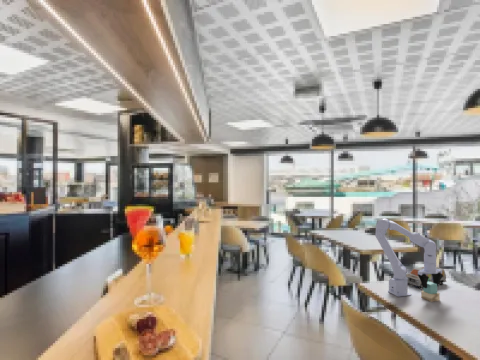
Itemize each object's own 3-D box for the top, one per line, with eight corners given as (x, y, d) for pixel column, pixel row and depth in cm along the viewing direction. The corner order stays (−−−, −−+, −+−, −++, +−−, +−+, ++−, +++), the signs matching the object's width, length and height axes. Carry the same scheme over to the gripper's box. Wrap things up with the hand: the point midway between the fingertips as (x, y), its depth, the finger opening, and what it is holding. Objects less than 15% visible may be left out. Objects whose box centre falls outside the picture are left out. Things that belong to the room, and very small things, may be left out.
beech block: (431, 302, 154) (431, 294, 154) (421, 298, 160) (421, 290, 160) (439, 300, 156) (439, 293, 156) (429, 296, 162) (429, 289, 162)
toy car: (403, 283, 182) (403, 268, 183) (431, 279, 191) (431, 264, 191) (419, 289, 172) (419, 273, 173) (447, 284, 181) (447, 268, 181)
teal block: (430, 294, 155) (430, 284, 155) (423, 291, 160) (423, 282, 160) (437, 293, 156) (437, 284, 156) (430, 290, 161) (429, 281, 161)
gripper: (425, 265, 153) (425, 290, 152) (447, 263, 156) (447, 288, 156) (414, 261, 160) (414, 286, 159) (435, 260, 163) (436, 284, 163)
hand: (430, 287), depth 158 cm, fingers open, 7 cm apart
